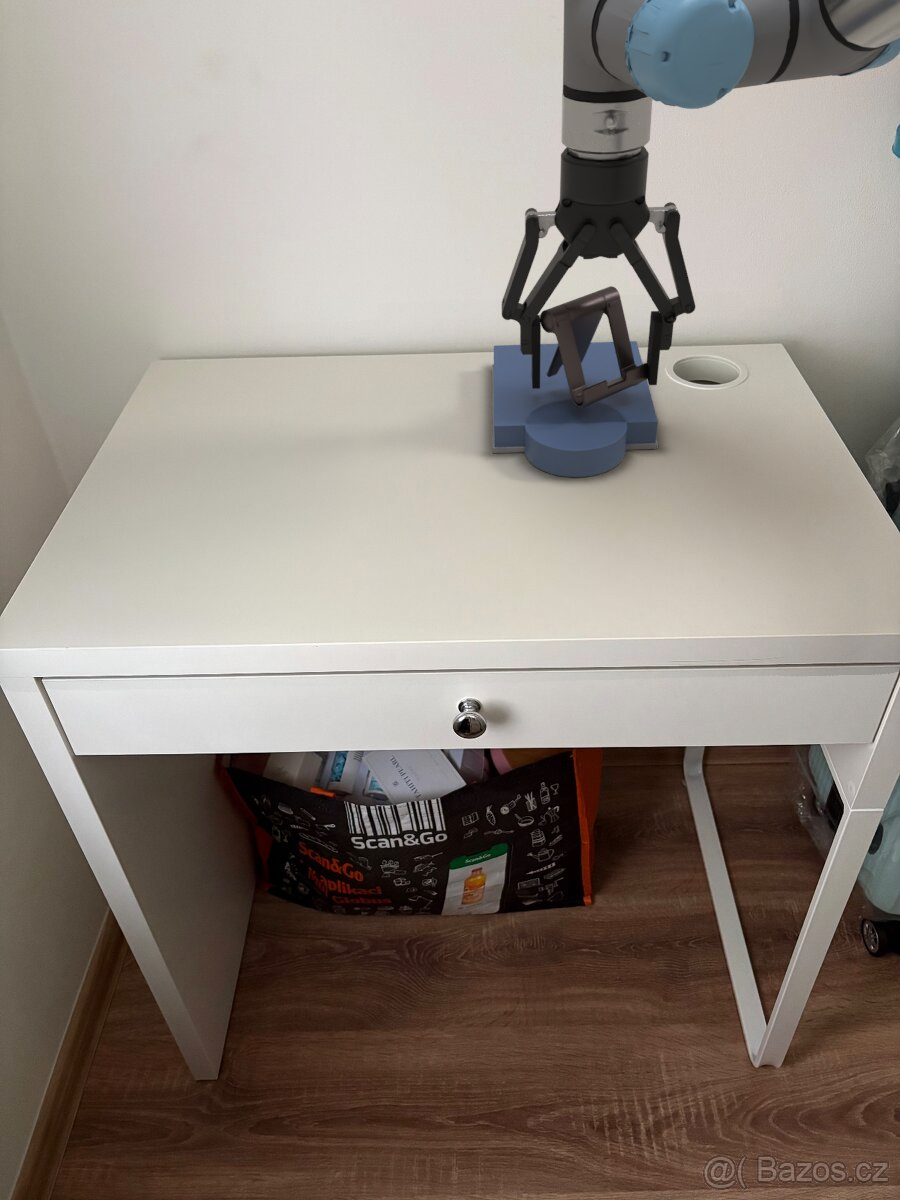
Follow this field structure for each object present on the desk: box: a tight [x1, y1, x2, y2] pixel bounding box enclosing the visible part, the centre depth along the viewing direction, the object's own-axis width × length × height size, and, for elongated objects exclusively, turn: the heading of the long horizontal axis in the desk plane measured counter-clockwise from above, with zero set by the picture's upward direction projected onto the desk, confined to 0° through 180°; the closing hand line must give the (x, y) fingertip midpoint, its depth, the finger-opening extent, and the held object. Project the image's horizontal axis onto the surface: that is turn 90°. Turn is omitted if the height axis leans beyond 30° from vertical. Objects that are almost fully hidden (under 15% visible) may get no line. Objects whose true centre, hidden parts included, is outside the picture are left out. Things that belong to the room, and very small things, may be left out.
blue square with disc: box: [491, 340, 659, 478], centre depth 101 cm, size 23×16×3 cm
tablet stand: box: [539, 285, 649, 409], centre depth 95 cm, size 9×8×8 cm
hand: (593, 380), depth 97 cm, fingers closed on tablet stand, 11 cm apart
